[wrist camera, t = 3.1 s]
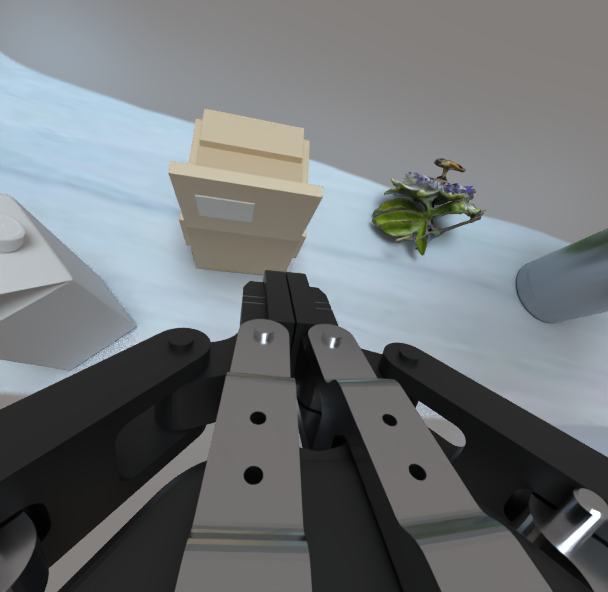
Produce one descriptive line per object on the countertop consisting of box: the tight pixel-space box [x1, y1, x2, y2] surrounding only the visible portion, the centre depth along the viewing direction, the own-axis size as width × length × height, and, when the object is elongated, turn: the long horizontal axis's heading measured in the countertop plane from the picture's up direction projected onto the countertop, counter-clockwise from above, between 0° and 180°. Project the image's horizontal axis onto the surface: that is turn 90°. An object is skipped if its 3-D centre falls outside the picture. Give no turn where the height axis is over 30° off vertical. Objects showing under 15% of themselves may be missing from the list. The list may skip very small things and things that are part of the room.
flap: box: [169, 161, 323, 241], centre depth 24 cm, size 10×8×1 cm
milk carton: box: [0, 194, 136, 370], centre depth 24 cm, size 7×7×19 cm
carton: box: [179, 109, 309, 275], centre depth 35 cm, size 11×12×11 cm
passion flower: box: [372, 159, 486, 255], centre depth 42 cm, size 11×11×12 cm
